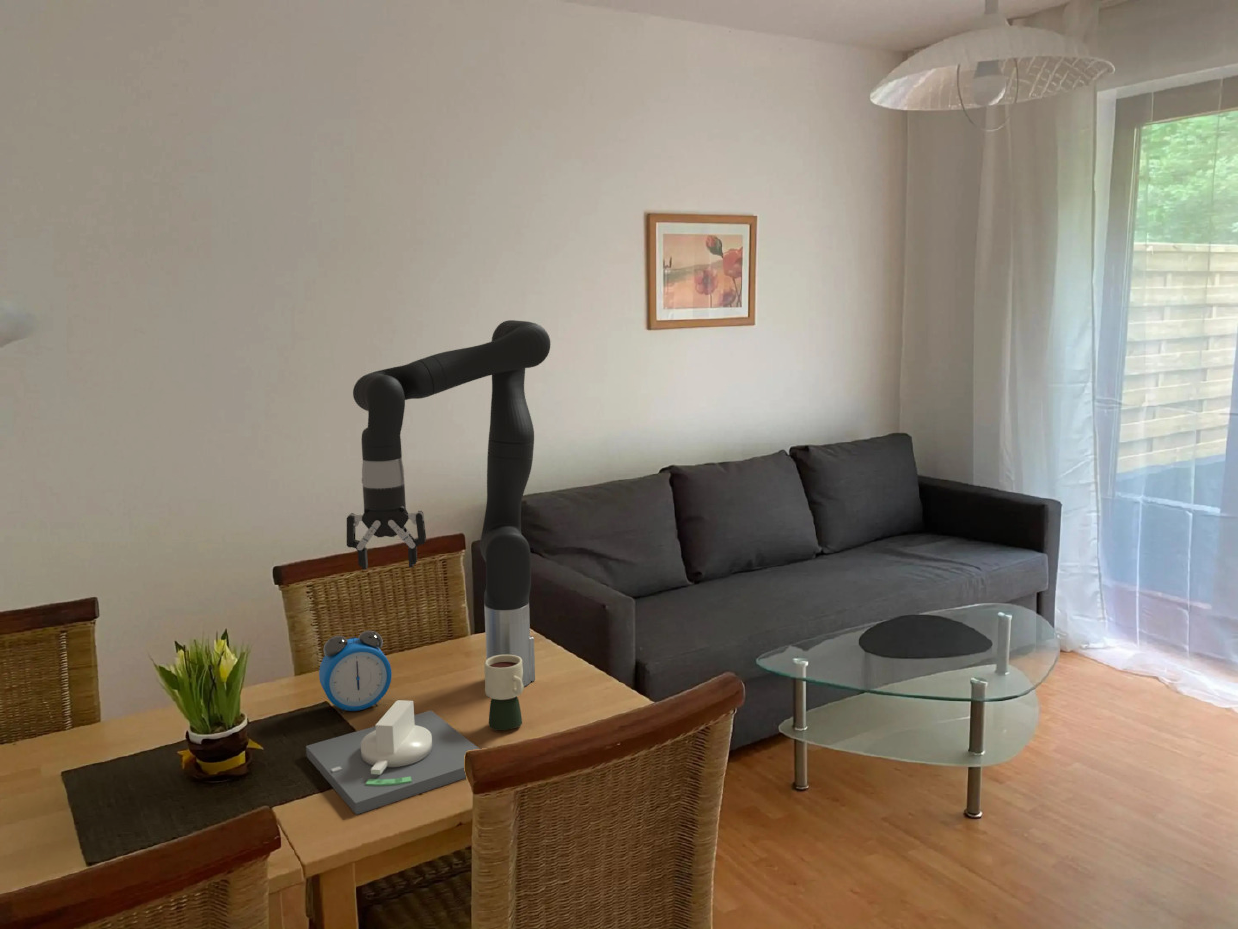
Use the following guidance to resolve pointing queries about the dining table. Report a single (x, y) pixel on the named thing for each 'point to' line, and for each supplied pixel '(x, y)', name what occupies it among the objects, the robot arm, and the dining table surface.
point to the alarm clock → (355, 671)
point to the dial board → (394, 783)
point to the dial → (396, 739)
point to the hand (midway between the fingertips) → (388, 567)
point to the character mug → (504, 690)
